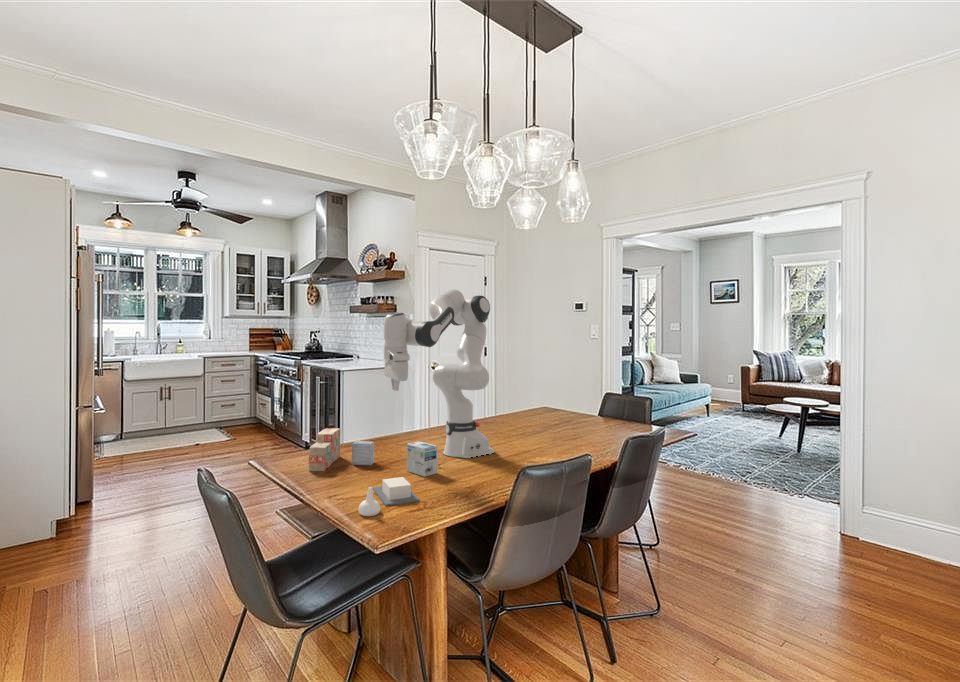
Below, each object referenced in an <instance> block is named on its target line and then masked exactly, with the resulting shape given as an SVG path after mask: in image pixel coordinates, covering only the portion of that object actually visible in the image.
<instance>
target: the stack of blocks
mask: <svg viewBox="0 0 960 682" xmlns="http://www.w3.org/2000/svg"><path fill="white" fill-rule="evenodd" d="M308 453H309V456H308V471H309V472H325V471H327V470H328V469H329V468H330V467H331V466H332V465H333V464H334V463H335V462H336V461H337V460H338V459H339V458H340V457H341V428H338V427H336V428H335V427H334V428H330V427H329V428H328V427H326V428H324V429H322V430H321V431H319V432H318V433H317V434H316V442H315V443H313V444H311V446H310V447H309V452H308ZM337 458H338V459H337ZM336 459H337V460H336ZM335 460H336V461H335ZM334 461H335V462H334ZM333 462H334V463H333ZM332 463H333V464H332ZM331 464H332V465H331ZM330 465H331V466H330ZM329 466H330V467H329ZM328 467H329V468H328ZM327 468H328V469H327Z"/></svg>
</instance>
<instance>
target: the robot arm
mask: <svg viewBox="0 0 960 682" xmlns="http://www.w3.org/2000/svg"><path fill="white" fill-rule="evenodd" d="M490 311H491V304H490V302H489V300H488V299H487V297H485V296H484V295H474V296H472V297H467V298H465V297H464V294H463V293H462V292H461V291H460V290H457V289H449V290H446V291H444V292H443V293H441V294H439V295H438V296H436V297H435V298H433V300H432V301H431V302H430V303H429V306H428V312H429V315H430V317H431V318H432V320H430V321H429V320H426V321H412V320H411V319H409V318H408V317H407V315H406V314H405V313H404V312H392V313H388V314H387V315H386V316H385V318H384V321H383V338H384V344H383V360H384V369H383V370H384V376H385V377H387V378H389V379H390V382H391V389H392V390H393V391H394V392H396V391H397V392H398V391H399V390H400V389H399V387H400V384H401V382H406V381H407V380H408V377H409V361H410V360H411V359H410V358H411V357H410V354H409V353H408V348H407V347H408V346H417V347H418V346H420V347H425V348H431V347H432V348H433V346H435V345H436V344H437V343H438V341H439V339H440V337H441V336H442V335H443V333H444V332H445V331H446V329H447V328H448V327H449V326H450V325H452V326H463V325H464V330H463V332H462V335H461V338H460V340H459V342H458V345H457V348H456V355H457V358H458V359H459V360H460V361H461V362H463V363H462V364H458V363H456V364H455V363H444V364H439V365H437V366H436V367H435V368H434V370H433V372H432V380H433V383H434V385H435V386H436V387H437V388H438V389H439V390H440V391H441V392H442V394H443V396H444V398H445V402H446V411H447V416H446V417H447V418H446V419H447V420H446V425H445V432H446V433H445V434H446V437H445V438H446V439H445V445H444V450H443V454H444V455H445V456H447V457H451V458H463V459H472V458H471V457H473V458H477V457H476V456H478V457H482V456H481V455H484V456H487V455H486V454H489V455H492V454H491V453H494V452H495V449H493V448H492V447H490V442H489V439H488V437H487V436H486V435H484V433H482V432H480V431H479V430H478V429H477V428H480V427H481V423H480V422H478V421H477V422H476V421H475V420H473V417H474V409H473V408H474V406H473V403H472V401H471V400H470V399H469V398H468V397H466V396H465V395H464V394H463V391H479V390H484V389H485V388H486V387H487V386H488V385H489V382H490V373H489V372H488V369H487V368H486V367H485V366H484V365H483V363H482V362H481V361H482V359H481V357H482V354H483V351H484V350H483V349H484V345H485V342H486V338H487V337H486V336H487V327H486V325H485V322H487V320H488V319H489V318H488V317H489V315H490ZM462 390H463V391H462ZM494 454H495V453H494Z"/></svg>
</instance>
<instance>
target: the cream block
mask: <svg viewBox="0 0 960 682" xmlns="http://www.w3.org/2000/svg"><path fill="white" fill-rule="evenodd" d="M381 486H382V492H383V493H384V494H385V495H386V497H387V498H388V499H389V500H394V499H401V498H408V497H411V491H412V485H411V483H410V482H409V481H408V480H407V479H406V478H405V477H404V476H399V477H392V478H383V479H382V485H381Z"/></svg>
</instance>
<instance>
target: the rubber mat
mask: <svg viewBox="0 0 960 682" xmlns="http://www.w3.org/2000/svg"><path fill="white" fill-rule="evenodd" d="M372 491H373V492H374V493H375V494H376V495H377V497H378V498H379V500H380V501H381V502H382V504H383V506H385V507H389V505H390V506H396V504H397V505H403V504H404V505H405V504H409V503H415V502H416V503H418V502H420V501H421V500H420V498H419V497H418V496H417V495H416V494H415V493H414V492H413V491H412V490H411V497H408V498H401V499H394V500H389V499H388V498H387V497H386V495H385V494H384V493H383V492H382V485H381V486H375V487H374V486H373V487H372Z"/></svg>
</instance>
